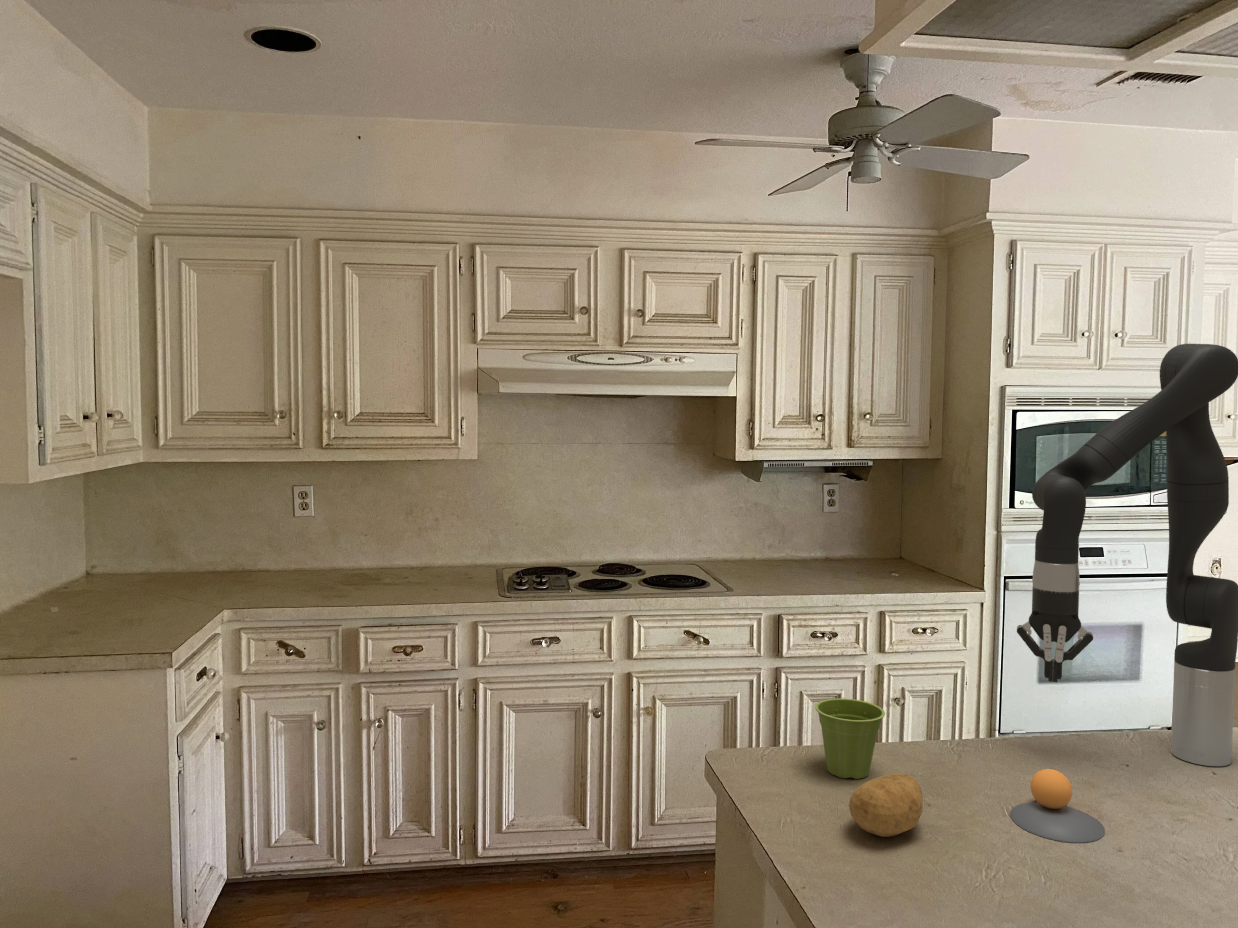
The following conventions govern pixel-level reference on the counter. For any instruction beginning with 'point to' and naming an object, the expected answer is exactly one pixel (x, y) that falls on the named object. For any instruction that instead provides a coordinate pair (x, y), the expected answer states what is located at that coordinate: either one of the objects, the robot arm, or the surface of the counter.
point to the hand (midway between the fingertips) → (1052, 680)
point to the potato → (887, 804)
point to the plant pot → (849, 735)
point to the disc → (1057, 823)
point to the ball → (1051, 788)
